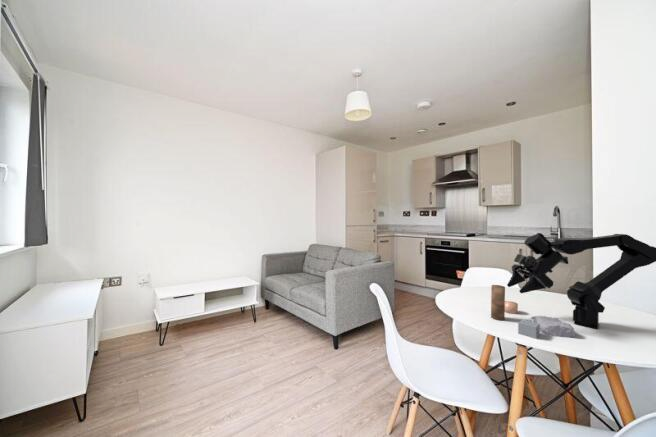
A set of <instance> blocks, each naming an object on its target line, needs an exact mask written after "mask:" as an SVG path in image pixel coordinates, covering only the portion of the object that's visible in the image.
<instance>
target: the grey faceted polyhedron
mask: <svg viewBox="0 0 656 437" xmlns="http://www.w3.org/2000/svg"><path fill="white" fill-rule="evenodd" d="M517 324H518V325H517V329H518V330H517V334H518V335H521V336H525V337H529V338H532V339H537V338H538V337H539V336H540V333H541V332H540V324H539V323H535V322H532V321H531V320H527V319H521V320H519V322H517Z"/></svg>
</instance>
